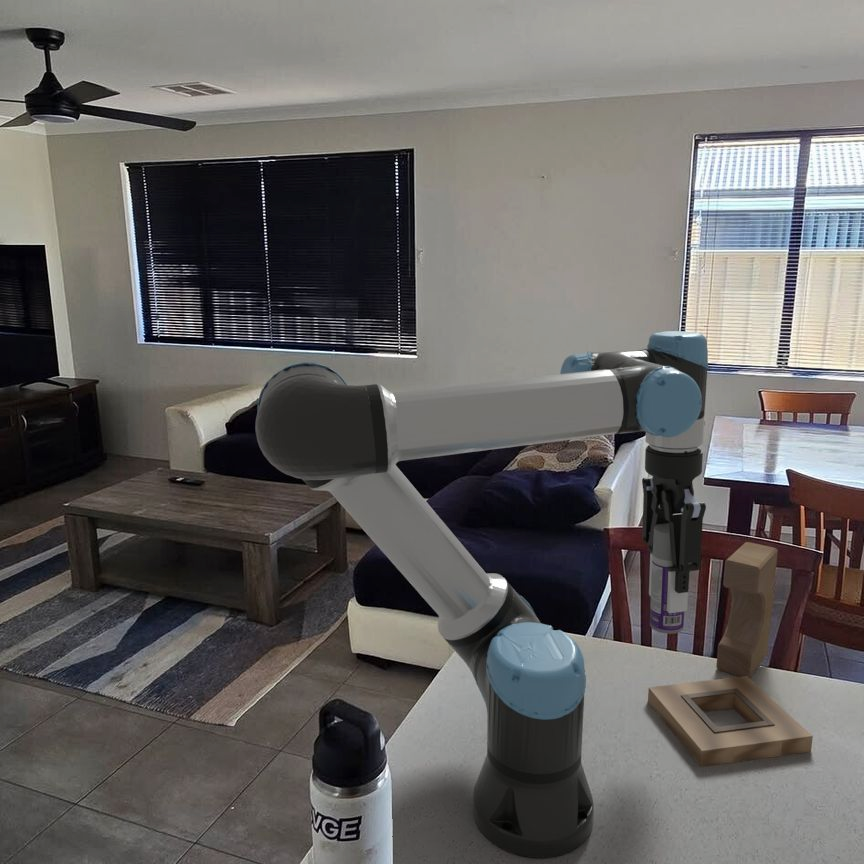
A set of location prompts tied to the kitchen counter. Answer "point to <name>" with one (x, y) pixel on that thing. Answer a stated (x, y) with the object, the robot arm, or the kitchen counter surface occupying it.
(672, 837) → the kitchen counter surface
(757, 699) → the board
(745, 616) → the decorative block
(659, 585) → the container
